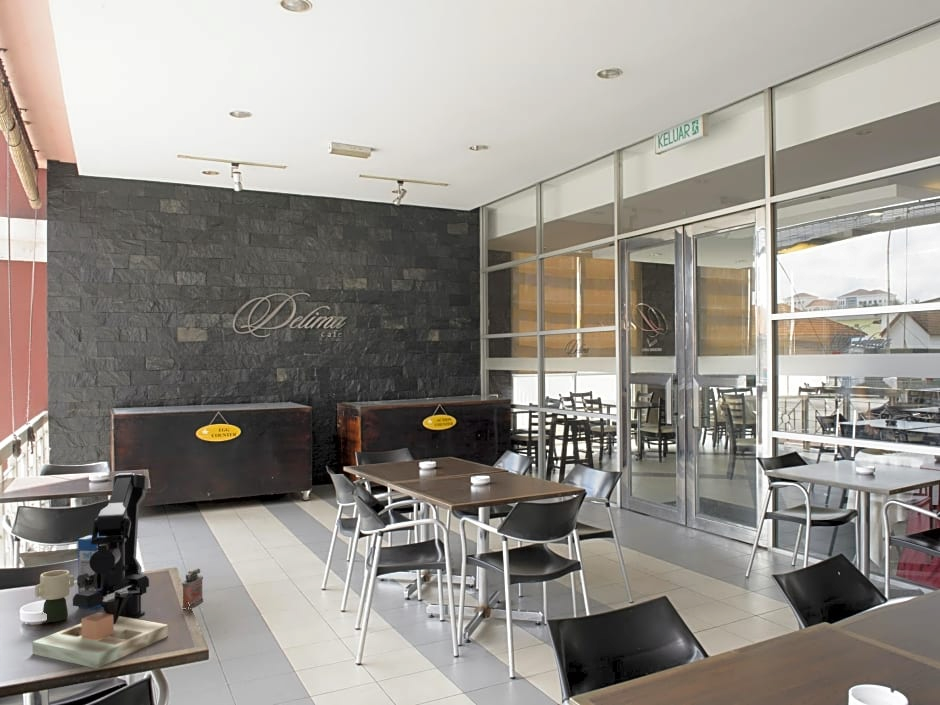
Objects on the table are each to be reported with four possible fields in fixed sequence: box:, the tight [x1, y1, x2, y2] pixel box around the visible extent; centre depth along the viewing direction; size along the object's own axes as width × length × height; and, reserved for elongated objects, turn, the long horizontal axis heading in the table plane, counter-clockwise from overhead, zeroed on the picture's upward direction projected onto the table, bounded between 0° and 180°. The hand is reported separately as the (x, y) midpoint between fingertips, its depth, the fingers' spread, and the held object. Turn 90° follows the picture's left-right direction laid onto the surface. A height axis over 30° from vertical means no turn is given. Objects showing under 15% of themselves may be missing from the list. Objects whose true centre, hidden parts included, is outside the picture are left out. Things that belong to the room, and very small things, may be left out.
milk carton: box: [77, 533, 109, 611], centre depth 215 cm, size 10×6×20 cm, turn 170°
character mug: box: [34, 569, 75, 623], centre depth 200 cm, size 11×7×13 cm, turn 153°
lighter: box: [181, 568, 204, 610], centre depth 212 cm, size 8×3×10 cm, turn 168°
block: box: [81, 612, 113, 640], centre depth 181 cm, size 5×5×4 cm
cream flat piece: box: [32, 616, 169, 669], centre depth 183 cm, size 21×22×3 cm
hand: (112, 624), depth 185 cm, fingers closed
